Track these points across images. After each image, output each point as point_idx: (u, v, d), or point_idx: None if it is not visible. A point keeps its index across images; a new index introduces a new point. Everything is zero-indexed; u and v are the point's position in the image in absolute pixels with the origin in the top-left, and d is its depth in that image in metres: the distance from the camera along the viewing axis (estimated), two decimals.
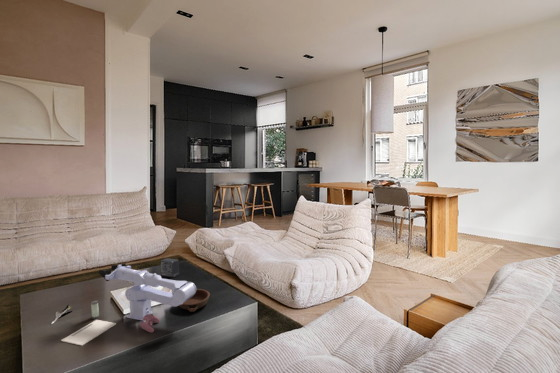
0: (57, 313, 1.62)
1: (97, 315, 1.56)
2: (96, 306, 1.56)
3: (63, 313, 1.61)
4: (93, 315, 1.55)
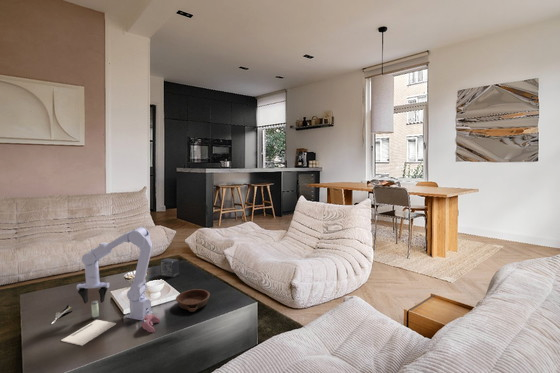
0: (57, 313, 1.62)
1: (97, 315, 1.56)
2: (96, 306, 1.56)
3: (63, 313, 1.61)
4: (93, 315, 1.55)
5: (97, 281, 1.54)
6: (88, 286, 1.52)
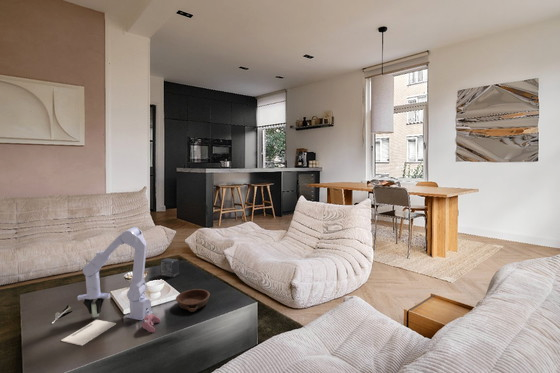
0: (57, 313, 1.62)
1: (97, 315, 1.56)
2: None
3: (63, 313, 1.61)
4: (93, 315, 1.55)
5: (98, 292, 1.55)
6: (89, 297, 1.53)
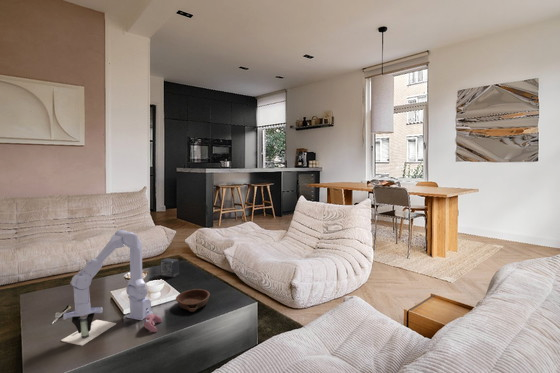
0: (57, 313, 1.61)
1: (88, 333, 1.39)
2: (87, 323, 1.38)
3: (63, 313, 1.61)
4: (83, 334, 1.38)
5: (89, 307, 1.38)
6: (79, 314, 1.35)
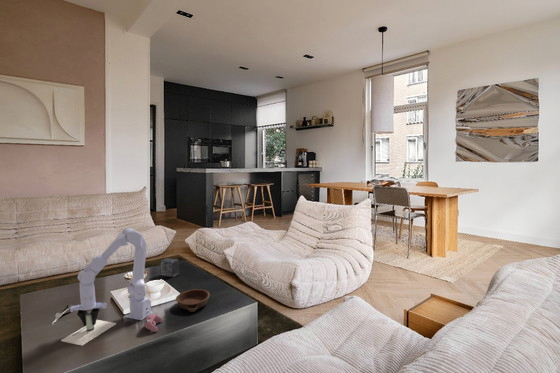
0: (57, 313, 1.61)
1: (92, 327, 1.44)
2: (91, 317, 1.44)
3: (63, 313, 1.61)
4: (87, 328, 1.43)
5: (93, 302, 1.43)
6: (84, 308, 1.41)
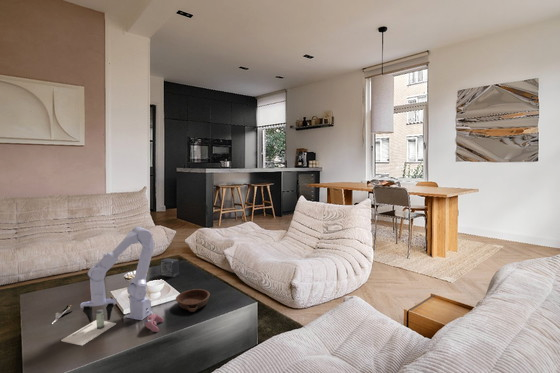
0: (57, 313, 1.61)
1: (103, 324, 1.46)
2: (102, 315, 1.46)
3: (63, 313, 1.61)
4: (98, 325, 1.45)
5: (104, 298, 1.45)
6: (94, 304, 1.43)
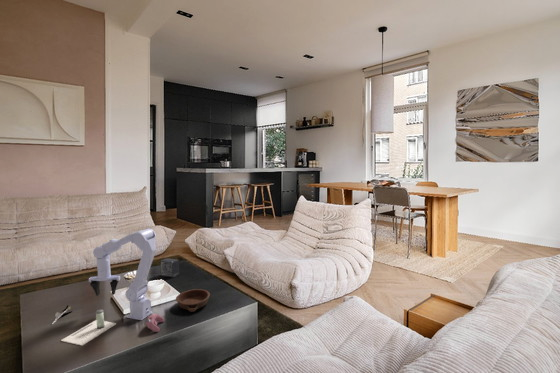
0: (57, 313, 1.61)
1: (103, 325, 1.46)
2: (102, 315, 1.46)
3: (63, 313, 1.61)
4: (98, 325, 1.45)
5: (108, 274, 1.60)
6: (100, 279, 1.58)
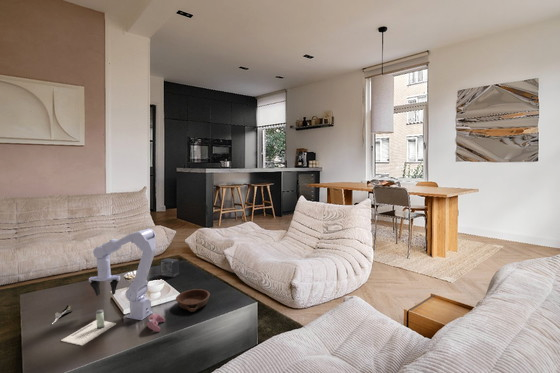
0: (57, 313, 1.61)
1: (103, 325, 1.46)
2: (102, 315, 1.46)
3: (63, 313, 1.61)
4: (98, 325, 1.45)
5: (109, 274, 1.60)
6: (100, 279, 1.58)
